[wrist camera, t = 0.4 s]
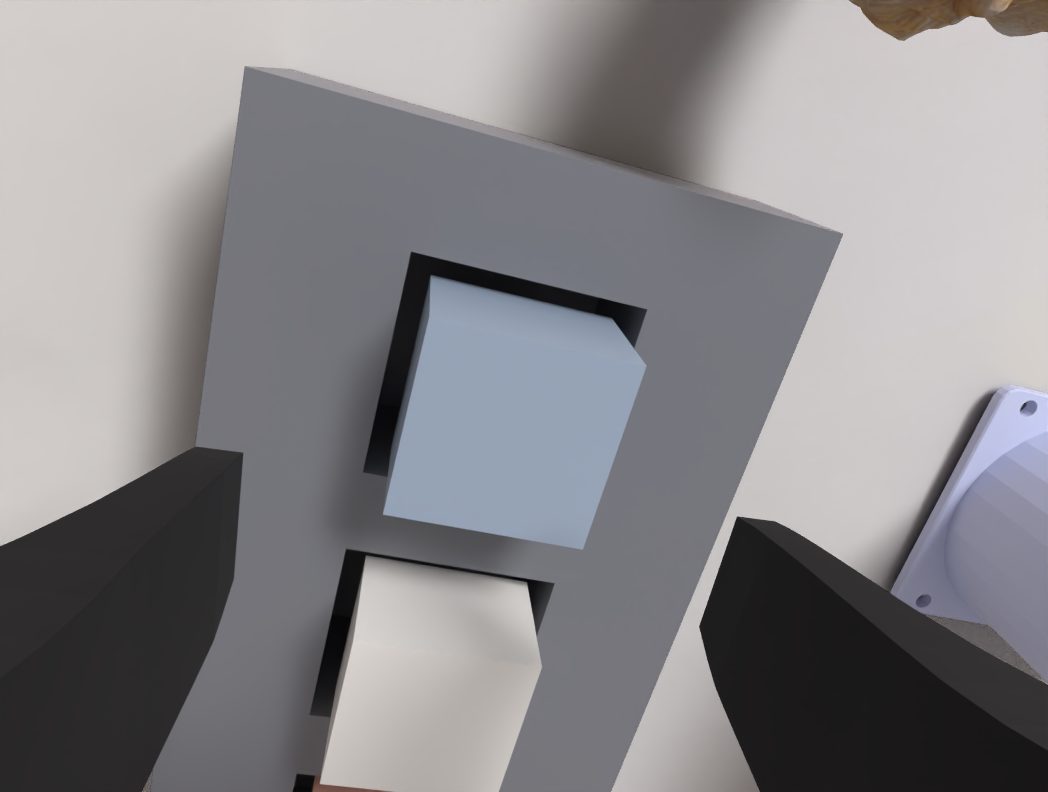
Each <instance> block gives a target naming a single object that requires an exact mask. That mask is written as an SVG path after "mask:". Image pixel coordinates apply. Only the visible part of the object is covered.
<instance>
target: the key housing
mask: <svg viewBox="0 0 1048 792" xmlns="http://www.w3.org/2000/svg"><path fill="white" fill-rule="evenodd" d="M842 236H843V234H842V233H839V232H837V231H834V230H831V229H829V228H826V227H824V226H821V225H818V224H816V223H813V222H811V221H808V220H805V219H803V218H800V217H798V216H795V215H792V214H790V213H787V212H784V211H782V210H779V209H777V208H774V207H771V206H769V205H766V204H764V203H761V202H758V201H755V200H751V199H748V198H744V197H740V196H737V195H733V194H730V193H726V192H723V191H719V190H716V189H712V188H709V187H705V186H702V185H698V184H694V183H691V182H687V181H684V180H680V179H677V178H673V177H670V176H666V175H663V174H659V173H656V172H652V171H648V170H645V169H641V168H638V167H634V166H631V165H627V164H624V163H620V162H617V161H613V160H610V159H606V158H603V157H599V156H595V155H592V154H588V153H585V152H581V151H578V150H574V149H571V148H567V147H564V146H560V145H557V144H553V143H549V142H546V141H542V140H539V139H535V138H532V137H528V136H525V135H521V134H518V133H514V132H511V131H507V130H503V129H500V128H496V127H493V126H489V125H486V124H482V123H479V122H475V121H472V120H468V119H465V118H461V117H457V116H454V115H450V114H447V113H443V112H440V111H436V110H433V109H429V108H426V107H422V106H419V105H415V104H411V103H408V102H404V101H401V100H397V99H394V98H390V97H387V96H383V95H380V94H376V93H373V92H369V91H365V90H362V89H358V88H355V87H351V86H348V85H344V84H341V83H337V82H334V81H330V80H327V79H323V78H319V77H316V76H312V75H309V74H305V73H302V72H298V71H295V70H291V69H280V68H264V67H248V66H245V68H244V76H243V84H242V91H241V99H240V107H239V114H238V122H237V130H236V137H235V145H234V153H233V160H232V168H231V176H230V183H229V191H228V199H227V206H226V214H225V222H224V229H223V237H222V245H221V252H220V260H219V268H218V275H217V283H216V291H215V298H214V306H213V314H212V321H211V329H210V337H209V345H208V352H207V360H206V368H205V375H204V383H203V391H202V398H201V406H200V414H199V421H198V429H197V437H196V444H195V447H204V448H211V449H219V450H227V451H235V452H242V453H243V465H242V478H241V492H240V505H239V519H238V532H237V545H236V559H235V572H234V580H233V583H232V586H231V590H230V593H229V596H228V599H227V602H226V605H225V608H224V612H223V615H222V618H221V621H220V624H219V627H218V630H217V633H216V636H215V639H214V641H213V644H212V646H211V648H210V650H209V652H208V654H207V657H206V659H205V661H204V663H203V665H202V667H201V669H200V671H199V674H198V676H197V678H196V680H195V682H194V684H193V686H192V688H191V690H190V693H189V695H188V697H187V699H186V701H185V703H184V705H183V707H182V709H181V711H180V713H179V715H178V717H177V720H176V722H175V724H174V726H173V728H172V730H171V732H170V734H169V736H168V738H167V740H166V742H165V745H164V747H163V749H162V751H161V753H160V755H159V757H158V759H157V761H156V763H155V765H154V767H153V774H152V782H151V789H150V792H312V787H313V783H314V779H315V776H321V773H322V767H323V761H324V755H325V749H326V743H327V737H328V731H329V725H330V719H331V713H332V707H333V701H334V695H335V689H336V683H337V679H338V675H339V670H340V666H341V662H342V657H343V653H344V649H345V644H346V640H347V636H348V631H349V627H350V623H351V618H352V614H353V610H354V605H355V601H356V597H357V592H358V588H359V584H360V579H361V575H362V571H363V566H364V562H365V558H366V555H367V556H373V557H379V558H385V559H391V560H397V561H403V562H409V563H415V564H421V565H427V566H433V567H440V568H446V569H452V570H458V571H464V572H470V573H476V574H482V575H488V576H494V577H500V578H506V579H512V580H518V581H525V582H527V586H528V591H529V597H530V603H531V608H532V614H533V619H534V625H535V631H536V636H537V642H538V647H539V653H540V659H541V664H542V669H541V672H540V674H539V677H538V680H537V683H536V686H535V689H534V692H533V695H532V698H531V700H530V703H529V706H528V709H527V712H526V715H525V718H524V721H523V723H522V726H521V729H520V732H519V735H518V738H517V741H516V744H515V747H514V749H513V752H512V755H511V758H510V761H509V764H508V767H507V770H506V772H505V775H504V778H503V781H502V784H501V787H500V790H499V792H611V790H612V788H613V785H614V783H615V781H616V778H617V776H618V773H619V771H620V769H621V766H622V764H623V761H624V759H625V757H626V754H627V752H628V749H629V747H630V745H631V742H632V740H633V737H634V735H635V733H636V730H637V728H638V725H639V723H640V721H641V718H642V716H643V713H644V711H645V709H646V706H647V704H648V701H649V699H650V697H651V694H652V692H653V689H654V687H655V685H656V682H657V680H658V677H659V675H660V673H661V670H662V668H663V665H664V663H665V661H666V658H667V656H668V653H669V651H670V649H671V646H672V644H673V641H674V639H675V637H676V634H677V632H678V629H679V627H680V625H681V622H682V620H683V617H684V615H685V613H686V610H687V608H688V605H689V603H690V601H691V598H692V596H693V593H694V591H695V589H696V586H697V584H698V581H699V579H700V577H701V574H702V572H703V569H704V567H705V565H706V562H707V560H708V557H709V555H710V553H711V550H712V548H713V545H714V543H715V541H716V538H717V536H718V533H719V531H720V529H721V526H722V524H723V521H724V519H725V517H726V514H727V512H728V509H729V507H730V505H731V502H732V500H733V497H734V495H735V493H736V490H737V488H738V485H739V483H740V481H741V478H742V476H743V473H744V471H745V469H746V466H747V464H748V461H749V459H750V457H751V454H752V452H753V449H754V447H755V445H756V442H757V440H758V437H759V435H760V433H761V430H762V428H763V425H764V423H765V421H766V418H767V416H768V413H769V411H770V409H771V406H772V404H773V401H774V399H775V397H776V394H777V392H778V389H779V387H780V385H781V382H782V380H783V377H784V375H785V373H786V370H787V368H788V365H789V363H790V361H791V358H792V356H793V353H794V351H795V349H796V346H797V344H798V341H799V339H800V337H801V334H802V332H803V329H804V327H805V325H806V322H807V320H808V317H809V315H810V313H811V310H812V308H813V305H814V303H815V301H816V298H817V296H818V293H819V291H820V289H821V286H822V284H823V281H824V279H825V277H826V274H827V272H828V269H829V267H830V265H831V262H832V260H833V257H834V255H835V253H836V250H837V248H838V245H839V243H840V241H841V238H842ZM431 275H434V276H438V277H442V278H447V279H451V280H455V281H459V282H463V283H467V284H472V285H476V286H480V287H484V288H488V289H492V290H497V291H501V292H505V293H509V294H513V295H517V296H522V297H526V298H530V299H534V300H538V301H542V302H547V303H551V304H555V305H559V306H563V307H567V308H572V309H576V310H580V311H584V312H588V313H592V314H597V315H601V316H605V317H609V318H612V319H613V320H614V322H615V323H616V325H617V326H618V327H619V329H620V330H621V331H622V333H623V334H624V336H625V337H626V338H627V340H628V341H629V342H630V344H631V345H632V347H633V348H634V349H635V351H636V352H637V353H638V355H639V356H640V357H641V359H642V360H643V362H644V363H645V364H646V369H645V372H644V375H643V378H642V381H641V383H640V386H639V389H638V392H637V395H636V398H635V401H634V404H633V406H632V409H631V412H630V415H629V418H628V421H627V424H626V427H625V430H624V432H623V435H622V438H621V441H620V444H619V447H618V450H617V453H616V455H615V458H614V461H613V464H612V467H611V470H610V473H609V476H608V479H607V481H606V484H605V487H604V490H603V493H602V496H601V499H600V502H599V504H598V507H597V510H596V513H595V516H594V519H593V522H592V525H591V527H590V530H589V533H588V536H587V539H586V542H585V545H584V548H583V550H582V549H576V548H570V547H565V546H559V545H553V544H548V543H542V542H536V541H531V540H525V539H519V538H514V537H508V536H502V535H496V534H491V533H485V532H479V531H474V530H468V529H462V528H457V527H451V526H445V525H440V524H434V523H428V522H423V521H417V520H411V519H405V518H400V517H394V516H388V515H383V509H384V501H385V493H386V485H387V477H388V469H389V461H390V453H391V445H392V440H393V436H394V432H395V427H396V423H397V419H398V414H399V410H400V406H401V401H402V397H403V393H404V388H405V384H406V380H407V375H408V371H409V367H410V362H411V358H412V354H413V349H414V345H415V341H416V336H417V332H418V328H419V323H420V319H421V315H422V310H423V306H424V302H425V297H426V293H427V289H428V284H429V280H430V276H431Z"/></svg>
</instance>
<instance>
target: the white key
mask: <svg viewBox="0 0 1048 792" xmlns="http://www.w3.org/2000/svg"><path fill="white" fill-rule="evenodd" d="M541 669H542V664H541V659H540V653H539V647H538V642H537V636H536V631H535V625H534V619H533V614H532V608H531V603H530V597H529V591H528V586H527V582H525V581H518V580H512V579H506V578H500V577H494V576H488V575H482V574H476V573H470V572H464V571H458V570H452V569H446V568H440V567H433V566H427V565H421V564H415V563H409V562H403V561H397V560H391V559H385V558H379V557H373V556H367V555H366V558H365V562H364V566H363V571H362V575H361V579H360V584H359V588H358V592H357V597H356V601H355V605H354V610H353V614H352V618H351V623H350V627H349V631H348V636H347V640H346V644H345V649H344V653H343V657H342V662H341V666H340V670H339V675H338V679H337V683H336V689H335V695H334V701H333V707H332V713H331V719H330V725H329V731H328V737H327V743H326V749H325V755H324V761H323V767H322V773H321V779H320V784H325V785H335V786H344V787H354V788H363V789H373V790H382V791H392V792H499V790H500V787H501V784H502V781H503V778H504V775H505V772H506V770H507V767H508V764H509V761H510V758H511V755H512V752H513V749H514V747H515V744H516V741H517V738H518V735H519V732H520V729H521V726H522V723H523V721H524V718H525V715H526V712H527V709H528V706H529V703H530V700H531V698H532V695H533V692H534V689H535V686H536V683H537V680H538V677H539V674H540V672H541Z"/></svg>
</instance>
